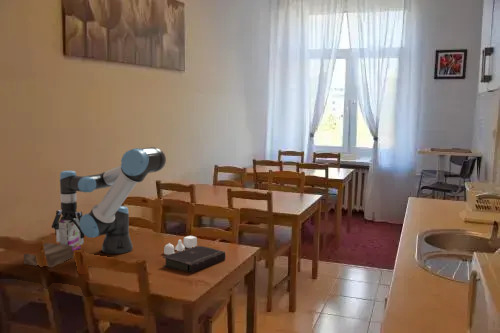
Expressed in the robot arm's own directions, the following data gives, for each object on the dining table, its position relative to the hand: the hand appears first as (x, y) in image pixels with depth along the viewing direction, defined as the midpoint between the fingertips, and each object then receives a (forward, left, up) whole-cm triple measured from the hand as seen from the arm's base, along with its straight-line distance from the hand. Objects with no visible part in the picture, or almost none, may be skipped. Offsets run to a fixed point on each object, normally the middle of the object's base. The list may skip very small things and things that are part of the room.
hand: (70, 243), depth 241 cm
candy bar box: (0, 0, -4) cm, 4 cm away
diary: (-67, -4, -5) cm, 67 cm away
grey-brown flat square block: (-1, +17, -4) cm, 17 cm away
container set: (-51, -21, -5) cm, 55 cm away
